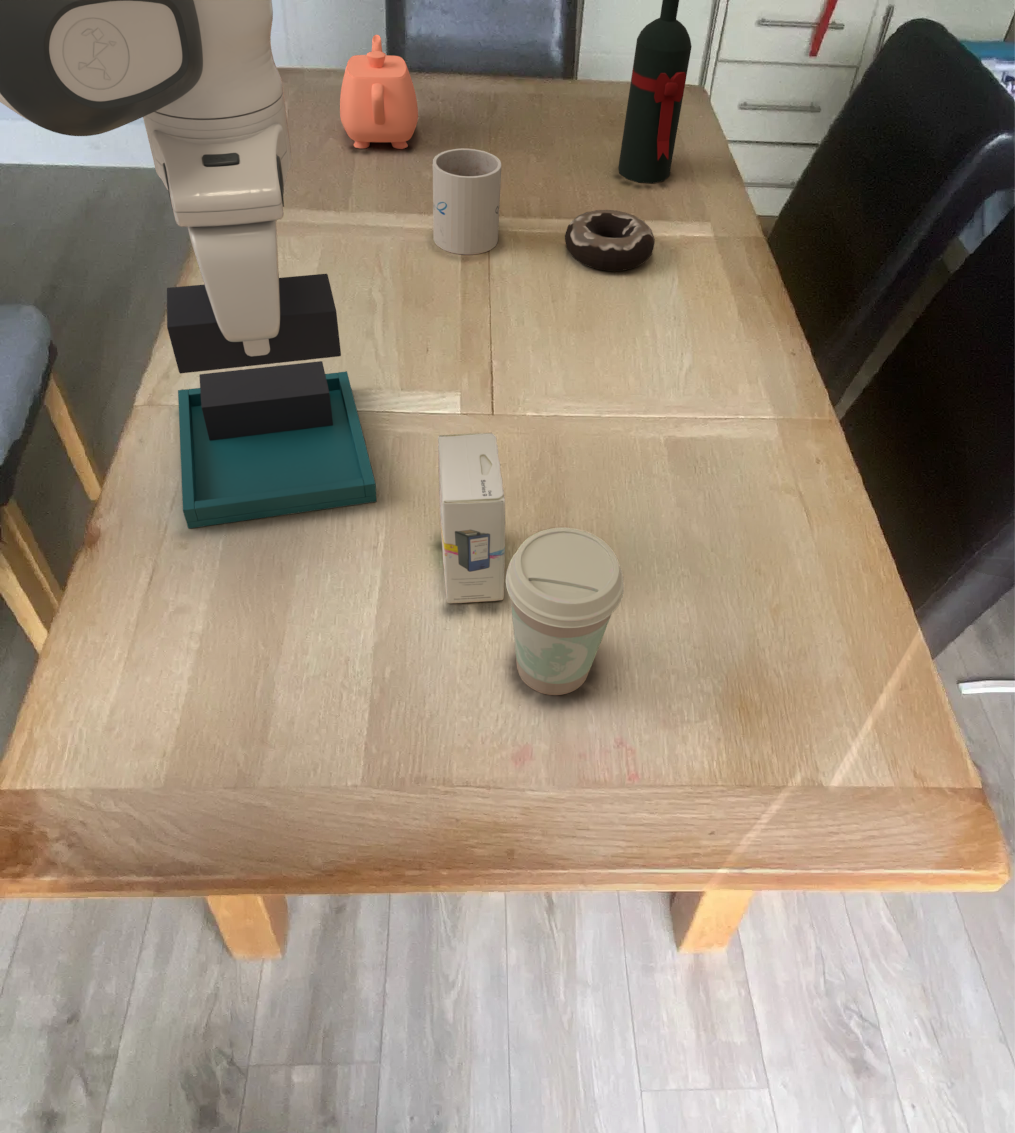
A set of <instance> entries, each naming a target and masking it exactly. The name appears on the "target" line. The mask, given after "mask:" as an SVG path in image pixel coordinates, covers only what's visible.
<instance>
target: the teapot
mask: <svg viewBox="0 0 1015 1133" xmlns="http://www.w3.org/2000/svg"><path fill="white" fill-rule="evenodd" d="M382 46H383V45H382V37H381V36H380V35H379V34H374V35H373V36H372V38H371V51H369V52H367V53H366V54H355V55H352V56H351V57H350V58H349V59H348V61H347V63H346V67H345V70H344V74H343V77H342V82H341V88H340V97H339V116H340V121H341V125H342V126H343V129H344V130H345V132H346V135H347V136H348V137H349V139H350V140H352V141H354V142H353V147H354V148H356V149H366V148H367V149H368V148H369V147H370V143H391V147H393V148H394V149H400V150H403V149H405V148H408V146H409V145H408V143H407V141H409V140H411V139H412V137H413V135H414V133H415V130H416V127H417V125H418V122H419V107H418V99H417V95H416V90H415V86H414V83H413V80H412V77H411V74H410V71H409V68H408V65H407V63H406V61H405V60H404V59H403V57H401V56H399V55H389V54H388V55H387V54H386V52H384V51H383V47H382Z"/></svg>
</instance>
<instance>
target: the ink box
mask: <svg viewBox="0 0 1015 1133" xmlns="http://www.w3.org/2000/svg"><path fill="white" fill-rule="evenodd" d="M497 441H498V439H497V436H496V435H495V434H494V433H493V432H475V433H453V434H439V435H437V445H438V448H437V451H438V452H437V453H438V454H437V455H438V457H437V459H438V462H437V463H438V497H439V499H438V500H439V519H440V520H439V522H440V534H441V550H442V551H441V552H442V564H443V574H444V589H445V598H446V600H445V602H446V603H447V604H462V603H479V602H481V603H482V602H496V601H503V600H504V597H505V596H504V595H505V561H506V560H505V559H506V558H505V557H506V554H505V553H506V499H505V490H504V485H503V477H502V471H501V461H500V457H499V446H498V442H497Z"/></svg>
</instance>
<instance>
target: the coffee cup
mask: <svg viewBox="0 0 1015 1133" xmlns="http://www.w3.org/2000/svg"><path fill="white" fill-rule="evenodd" d="M624 582H625V581H624V573H623V570H622V568H621V565H620V562H619V559H618V556H617V555H616V553H615V551H614V550H613V548H612V547H611V546H610V545H609V544H608V543H607V542H606V541H604V539H602V538H600V537H599V536H597V535H596V534H593V533H591V532H588V531H586V530H584V529H583V530H582V529H579V528H573V527H562V526H561V527H551V528H547V529H543V530H540V531H537V532H536V533H534V534H532V535H530V536H529V537H527V538H526V539H525V540H523V542H522V543H521V544H520V546H519V547H518V549H517V550H516V552H515V553H514V554H513V555H512V557H511V559H510V561H509V564H508V567H507V569H506V573H505V587H506V591H507V594H508V596H509V598H510V606H511V607H510V608H511V616H512V626H513V640H514V650H515V652H514V653H515V661H516V670H517V673H518V675H519V677H520V679H521V681H523V683H524V684H525V685H526V686H527V687H529V688H530V689H532V690H534V691H535V692H538V693H541V694H544V695H548V696H561V695H566V694H570V693H573V692H574V691H576V690H578V689H579V688H580V687H582V685H583V684H584V683H585V681H586V680H587V678H588V676H589V673H590V671H591V668H592V666H593V663H594V661H595V658H596V655H597V653H598V650H599V648H600V646H601V642H602V640H603V638H604V635H605V632H606V630H607V627H608V625H609V622H610V620H611V617H612V614H613V613H614V612H615V611H616V610H617V609H618V607H619V606H620V604H621V602H622V601H623V600H622V599H623V597H624V592H625V584H624Z"/></svg>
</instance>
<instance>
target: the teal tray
mask: <svg viewBox="0 0 1015 1133" xmlns="http://www.w3.org/2000/svg"><path fill="white" fill-rule="evenodd" d="M325 376H326V380H327V384H328V389H329V394H330V402H331V411H332V420H333V425H332V426H324V427H316V428H308V429H299V430H291V431H283V432H275V433H267V434H259V435H251V436H243V437H235V438H227V439H219V440H211V441H210V440H209V436H208V432H207V428H206V424H205V420H204V416H203V412H202V407H201V392H200V387H194V388H186V389H178V390H177V398H178V400H177V402H178V403H177V404H178V421H179V424H178V425H179V448H180V451H179V452H180V473H181V498H182V500H181V501H182V512H183V516H184V519H185V522H186V526H187V528H188V529H195V528H203V527H210V526H215V525H216V526H217V525H222V524H223V525H224V524H231V523H236V522H237V523H238V522H244V521H251V520H257V519H259V520H260V519H264V518H273V517H279V516H287V515H293V514H300V513H306V512H307V513H308V512H315V511H322V510H328V509H334V508H342V507H350V506H354V505H363V504H368V503H376V502H377V501H378V500H377V498H378V497H377V486H376V480H375V476H374V473H373V468H372V464H371V460H370V457H369V453H368V448H367V444H366V440H365V436H364V433H363V432H364V431H363V429H362V426H361V425H362V424H361V421H360V418H359V413H358V409H357V405H356V402H355V398H354V393H353V390H352V386H351V381H350V378H349V374H348V371H346V370H345V371H338V372H330V373H325Z"/></svg>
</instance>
